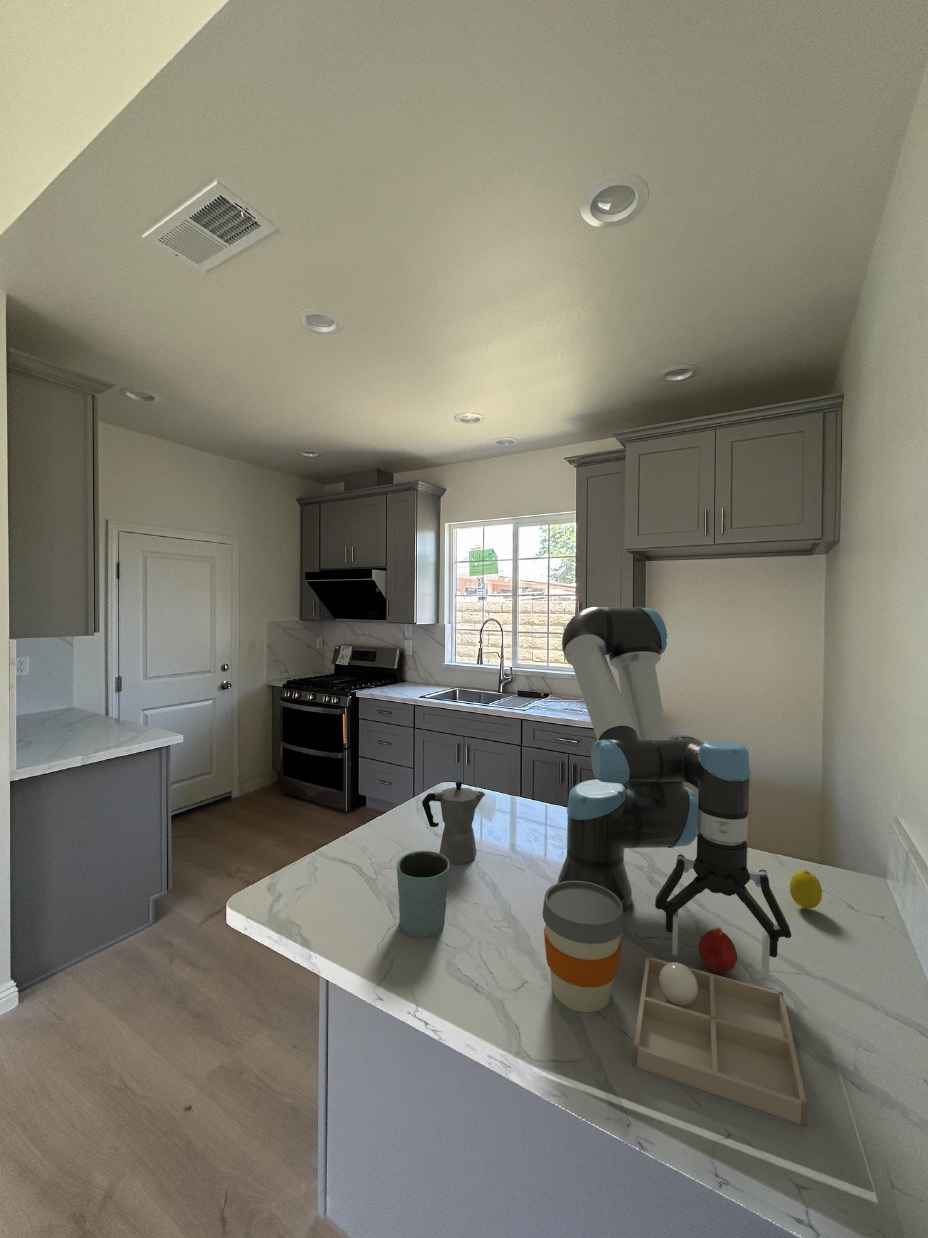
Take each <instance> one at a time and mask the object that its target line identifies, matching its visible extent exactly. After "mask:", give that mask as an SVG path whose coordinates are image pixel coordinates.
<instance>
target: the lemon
mask: <svg viewBox="0 0 928 1238" xmlns="http://www.w3.org/2000/svg"><path fill="white" fill-rule="evenodd" d="M789 894H790V895H791V896H790V897H791V898H792V900H793V901H794V902H795V903H796V904H797V905H798V906H800V907H801V908H802V909H803V910H808V909H814V908H816V907H818V906H819V904H820V903H821V901H822V897H823V891H822V886H821V883H820V881H819V879H818V878H817V876H816V875H815V874H813V873H811V872H809V870H806V869H805V870H800V871H796V872H795V873H794V874H793V875H792V876H791V879H790V881H789Z"/></svg>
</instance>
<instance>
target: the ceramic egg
mask: <svg viewBox="0 0 928 1238" xmlns="http://www.w3.org/2000/svg"><path fill="white" fill-rule="evenodd" d="M688 967H689V966H688ZM688 967H687V966H686V965H684V964H683V963H681V962H677V961H675V962H670V963H669V964H667V965H665V966H664V967H663V968H662V970H661V972H660V975H659V985H660V988H661V991H662V993H663V994H664V996H665V997H666V998H667V999H668V1000H669V1001H670V1002H671V1003H673V1004H675V1005H678V1006H687V1005H690V1004H691V1003H692V1002H693V1001H694V1000H695V999H696V997H697V993H698V984H697V981H696V978H695V976H694V974H693V973H692V971H691V970H690V969H689V968H690V967H689V968H688Z"/></svg>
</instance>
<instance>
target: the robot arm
mask: <svg viewBox="0 0 928 1238" xmlns="http://www.w3.org/2000/svg"><path fill="white" fill-rule="evenodd" d="M561 637H562V639H561V647H562V652H563V656H564V658H565V661H566V662H567V663H568V664H569V665H571V666H572V669H573V672H574V674H575V677H576V681H577V684H578V686H579V689H580V693H581V695H582V697H583V698H582V699H583V702H584V704H585V707H586V710H587V713H588V716H589V719H590V722H591V725H592V728H593V730H594V733H595V736H596V739H597V740H596V741H594V743H593V744H592V747H591V752H590V762H591V770H592V772H593V774H594V777H595V779H591V780H590V779H589V780H584V781H582V782H579V783H577V784H575V786H573V787H572V788H570V792H569V794H568V801H567V808H566V814H567V826H566V827H567V828H566V829H567V830H566V831H567V833H566V835H567V837H566V838H567V839H566V856H565V859H564V862H563V865H562V867H561V870H560V872H559V876H558V879H557V883H560V882H565V881H585V882H590V883H594V884H597V885H600V886H602V887H604V888H606V889H608V890H610V891H611V892H613V893H614V894H615V895H616V896H617V897H618V898H619V899H620V901H621V903H622V907H623V913H624V912H625V911H627V910H628V909H629V908H630V906H631V905H632V901H633V900H632V894H633V892H632V886H631V883H630V880H629V877H628V873H627V869H626V866H625V861H624V860H625V850H626V849H651V848H652V849H653V848H654V849H655V848H656V849H657V848H658V849H659V848H667V849H673V848H677V847H687V846H690V845H691V844H692V843H693V842H694V841H695V839H696V858H695V859H694V860H693V859H689V858H686V857H685V856H684V855H683V854H681V853H680V854H678V855H677V857H676V863H675V867H674V868H673V870H672V872H671V873H670V874H669V876H668V878H667V879H666V881H665V883H664V884H663V885H662V887H661V889H660V890H659V892H658V893H657V895H656V897H655V902H654V907H655V909H657V910H662V912H664V913H665V930H666V932H667V933H670V934H672V947H671V948H672V951H671V953H672V956H675V957H677V956H678V948H679V947H678V946H679V945H678V943H679V941H678V940H679V938H678V937H679V910H680V909H682V908H683V907H684V906H685V905H686V904H688V903H689V902H690V901H692V899H694V898H695V897H696V896H697V895H698V894H701V893H702V892H704V891H705V890H709V892H710V893H712V894H722V895H724V896H728V897H732V896H734V895H736V896H737V898H738V899H739V900H740V901H741V903H743V904H744V905H745V906H746V908H747V909H748V910H749V912H750V913H751V914H752V915H753V917H754V918H755V919H756V921H757V922H758V923H759V924H760V926H761V927H762V936H761V937H762V940H761V947H762V948H761V974H762V977H763V979H766V980H769V977H770V958H771V957H772V958H777V957H778V942H779V940H780V938H783V937H784V938H786V939H790V938H792V932H791V929H790V926H789V923H788V921H787V918H786V917H785V915H784V913H783V911H782V909H781V907H780V905H779V902H778V900H777V899H776V897H775V895H774V893H773V891H772V889H771V887H770V879H769V876H768V872H767V870H766V869H759V870H758V871H752V870H749V869H748V843H747V839H748V838H749V837H748V836H749V835H748V834H749V833H748V830H749V829H748V828H749V827H748V825H749V803H750V802H749V801H750V800H749V799H750V781H751V780H750V778H751V773H752V772H751V767H750V752H749V750H748V749H747V748H746V746H745V745H742V744H741V743H738V742H732V741H730V740H724V739H707V740H704V741H701V740H699V739H698V738H695V737H693V736H689V735H685V734H675V735H673V736H672V737H668V732H667V727H666V726H667V725H666V721H665V715H664V709H663V703H662V698H661V691H660V687H659V686H660V685H659V681H658V673H657V669H656V666H657V664H659V662H660V661H661V659H662V657H661V655H663V654H664V652H665V651H666V648H667V645H668V641H667V639H668V631H667V627H666V623H665V621H664V618H663V617H662V616H661V614H660V613H659V611H656V610H655V609H653V608H650V607H641V606H633V607H630V606H629V607H625V606H624V607H622V606H621V607H616V606H614V607H613V606H612V607H611V606H608V607H607V606H603V607H601V606H592V607H587V608H584V609H582V610H580V611H579V612H577V613H576V614H575V615H573V617H572V618H570V620H569V622H567V625H566V626H565V628H564V630H563V633H562V636H561ZM606 656H608V658H609V662H608V659H607V657H606ZM611 667H612V668H614V669H615V670H616V671H617V674H618V681H619V682H618V684H619V687H620V688H619V687H618V684H617V681H616V679H615V676H614V674H613V672H612V669H611ZM684 783H688V784H690V785H692V786H693V787H694V788H696V789H697V790H698V791H697V792H698V793H697V797H696V794H695V792H694V791H693V790H692V789H690V788H687V787H685V786H684ZM623 784H626V787H625V785H623ZM692 869H693V871H694V873H695V874H696V876H695V877H694V878H693V880H692V881H691V882H689V884H687V885H686V886H685V887H683V888H682V889H681V890H680V891H679V892H678V893H676V895H674V896H673V897H672V898H671V899H670V900H669V898H670V896H671V894H672V893H673V891H674V890H675V888H676V887H677V885H678V884H679V882H680V881H681V879H682V878H683V876H684V873H685V874H687V873H688V872H689V871H690V870H692ZM750 881H753V883H754V885H755V887H758V888H760V891H761V893H762V895H763V897H764V899H765V901H766V903H767V905H768V908H769V910H770V912H771V914H772V915H773V917H774V920H775V922H776V924H775V923H774V922H773V921H772V919H771V918H770V917H769V916H768V914H767V913H766V912H765V911H764V909H763V908H762V907H761V906H760V904H759V903H758V902H757V900H756V899H755V898H754V897H753V895H752V894H751V893H750V892H749V890H748V888H747V886H746V885H747V884H748V883H749V882H750Z"/></svg>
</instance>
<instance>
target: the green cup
mask: <svg viewBox="0 0 928 1238" xmlns="http://www.w3.org/2000/svg"><path fill="white" fill-rule="evenodd" d="M450 864H451V863H449V860H448V859H447V858H446V857H445V856H444V855H442V854H440V853H439V852H438V851H432V850H416V851H411V852H408V853H406V854H404V855H402V856H401V857H400V858H399V859H398V860H397V864H396V876H397V877H396V878H397V885H398V886H397V887H398V888H397V890H398V891H397V892H398V907H399V920H398V921H399V926H400V929H401V932H402V933H404V934H405V935H407V936H408V937H411V938H416V939H426V938H430V937H434V936H436V935H438V934H439V933H440V932H441V931H442V930H443V929H444V926H445V923H446V922H445V920H446V909H447V897H448V888H449V878H450V877H449V876H450V866H451V865H450Z"/></svg>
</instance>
